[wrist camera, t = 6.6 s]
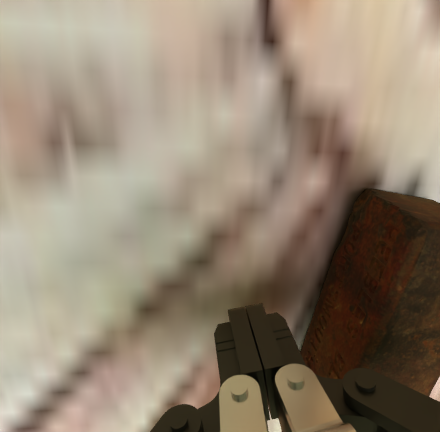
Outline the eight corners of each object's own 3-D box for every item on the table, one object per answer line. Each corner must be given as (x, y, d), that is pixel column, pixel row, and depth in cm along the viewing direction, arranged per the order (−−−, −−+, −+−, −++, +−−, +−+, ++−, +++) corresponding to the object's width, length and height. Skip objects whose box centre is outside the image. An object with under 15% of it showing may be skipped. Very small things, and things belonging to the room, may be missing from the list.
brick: (351, 182, 15) (420, 220, 11) (429, 196, 16) (523, 237, 11) (289, 367, 19) (322, 453, 14) (355, 373, 19) (406, 456, 15)
